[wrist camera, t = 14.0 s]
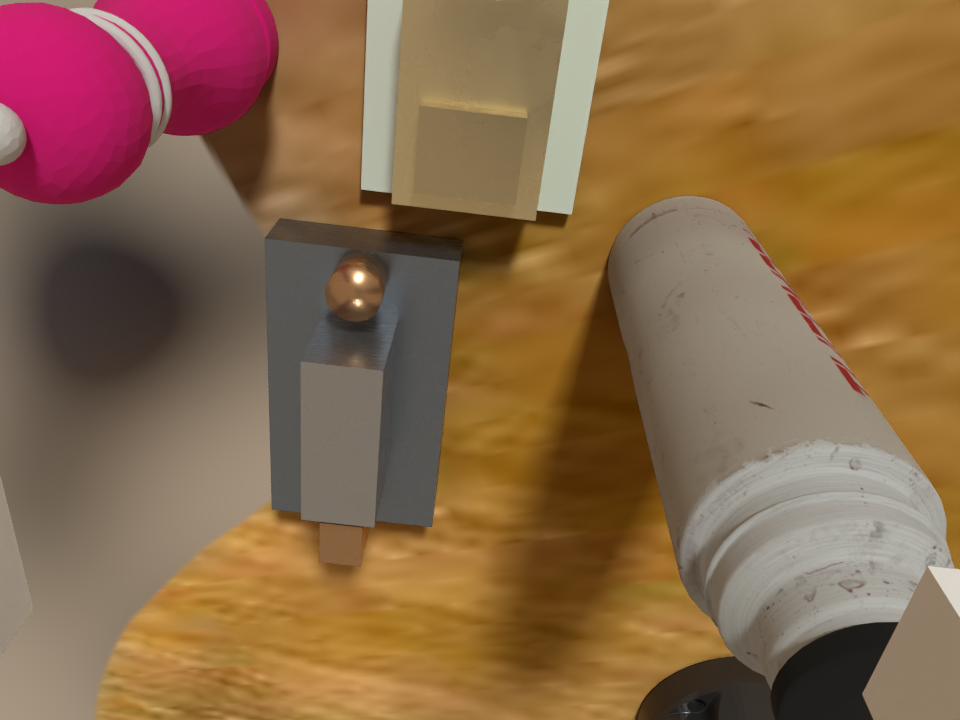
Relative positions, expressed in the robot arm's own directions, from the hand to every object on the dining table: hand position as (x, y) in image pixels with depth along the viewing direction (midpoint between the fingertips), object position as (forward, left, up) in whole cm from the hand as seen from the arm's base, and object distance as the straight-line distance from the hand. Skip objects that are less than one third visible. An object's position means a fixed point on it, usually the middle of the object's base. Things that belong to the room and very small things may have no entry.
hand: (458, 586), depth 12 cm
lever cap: (+1, +1, -31) cm, 31 cm away
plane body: (-16, +6, -32) cm, 37 cm away
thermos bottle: (-7, -11, -33) cm, 35 cm away
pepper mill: (+2, +14, -33) cm, 36 cm away
